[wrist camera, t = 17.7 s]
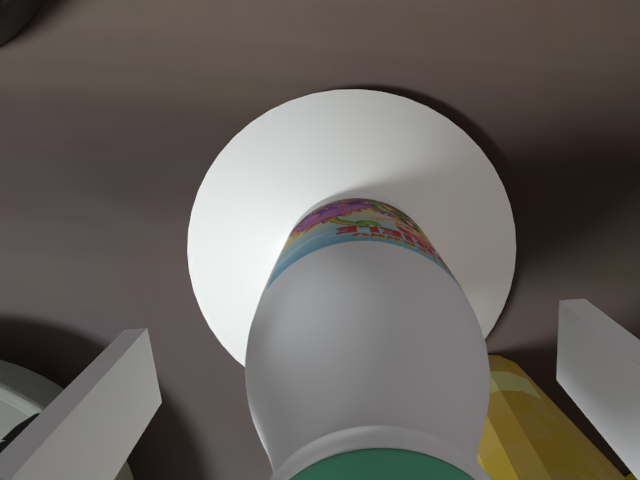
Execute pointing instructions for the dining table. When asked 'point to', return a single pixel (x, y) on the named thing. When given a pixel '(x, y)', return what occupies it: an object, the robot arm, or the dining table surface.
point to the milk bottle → (366, 352)
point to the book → (534, 434)
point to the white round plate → (341, 177)
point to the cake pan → (29, 400)
